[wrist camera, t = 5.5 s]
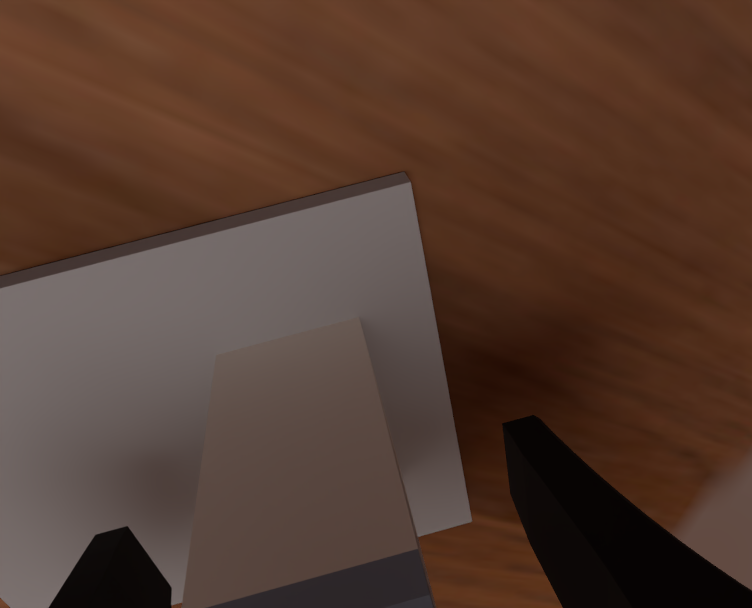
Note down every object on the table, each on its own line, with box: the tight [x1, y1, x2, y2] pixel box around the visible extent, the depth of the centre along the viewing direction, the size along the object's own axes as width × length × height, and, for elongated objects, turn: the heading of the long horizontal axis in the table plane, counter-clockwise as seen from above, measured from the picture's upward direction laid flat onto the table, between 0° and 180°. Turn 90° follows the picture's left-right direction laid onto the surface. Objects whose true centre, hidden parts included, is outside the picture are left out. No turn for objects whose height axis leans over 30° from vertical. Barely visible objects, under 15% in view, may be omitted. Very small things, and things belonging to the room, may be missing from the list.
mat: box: [0, 172, 472, 608], centre depth 13 cm, size 12×10×1 cm
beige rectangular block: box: [182, 317, 436, 608], centre depth 10 cm, size 3×5×6 cm, turn 12°
